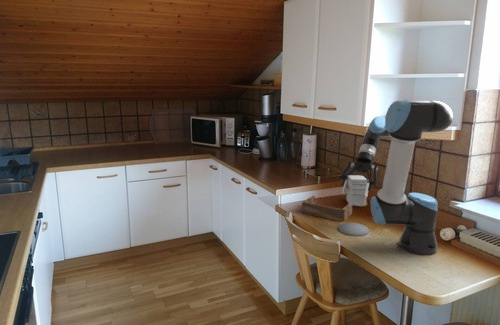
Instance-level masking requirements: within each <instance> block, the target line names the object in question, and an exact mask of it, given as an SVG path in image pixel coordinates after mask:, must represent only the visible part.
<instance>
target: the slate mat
mask: <svg viewBox="0 0 500 325" xmlns="http://www.w3.org/2000/svg"><path fill="white" fill-rule="evenodd" d="M338 231H339V232H340V233H342V234H344V235H347V236H351V237H352V236H353V237H364V236H367V235H368V234H369V233H370V229H369V228H368V226H366V225H364V224H361V223H358V222H344V223H340V224H339V225H338Z"/></svg>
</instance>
